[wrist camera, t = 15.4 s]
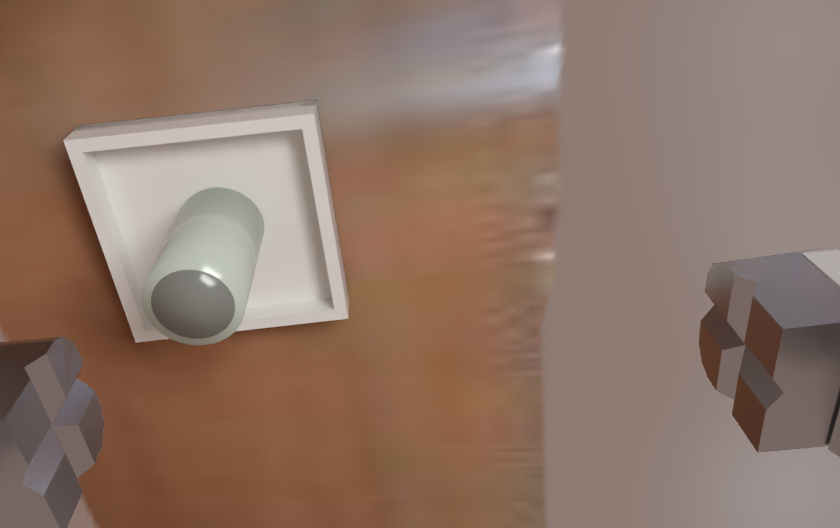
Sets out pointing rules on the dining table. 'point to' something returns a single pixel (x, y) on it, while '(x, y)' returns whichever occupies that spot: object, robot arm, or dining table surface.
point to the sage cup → (205, 268)
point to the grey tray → (226, 168)
